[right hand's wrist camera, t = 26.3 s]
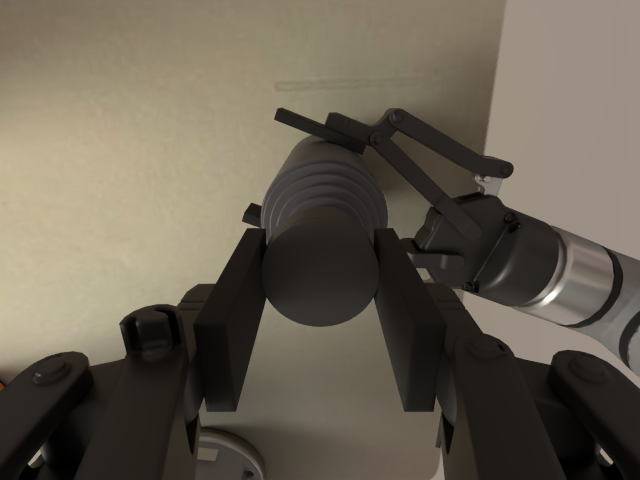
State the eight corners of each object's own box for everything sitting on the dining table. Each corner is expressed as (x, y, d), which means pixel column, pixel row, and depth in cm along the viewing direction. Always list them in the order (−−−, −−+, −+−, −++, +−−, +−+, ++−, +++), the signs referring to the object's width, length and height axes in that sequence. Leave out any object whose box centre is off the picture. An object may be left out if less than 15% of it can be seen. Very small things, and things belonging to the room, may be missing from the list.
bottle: (369, 196, 34) (424, 305, 16) (300, 217, 34) (276, 345, 16) (348, 122, 31) (384, 151, 13) (274, 148, 32) (213, 208, 14)
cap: (319, 183, 13) (319, 194, 12) (396, 258, 15) (404, 276, 13) (244, 259, 15) (235, 277, 13) (320, 322, 16) (320, 346, 14)
